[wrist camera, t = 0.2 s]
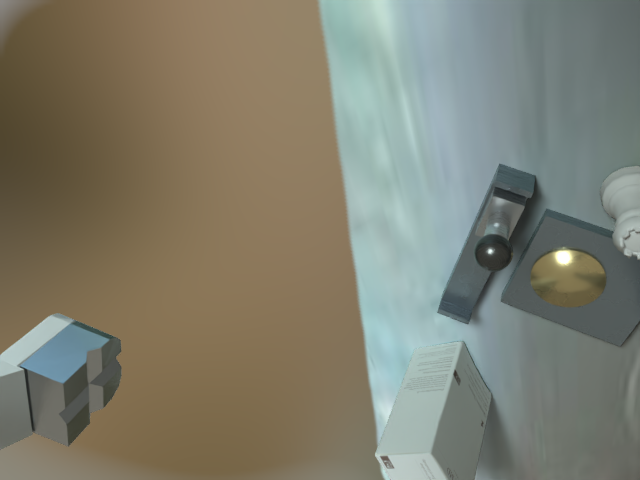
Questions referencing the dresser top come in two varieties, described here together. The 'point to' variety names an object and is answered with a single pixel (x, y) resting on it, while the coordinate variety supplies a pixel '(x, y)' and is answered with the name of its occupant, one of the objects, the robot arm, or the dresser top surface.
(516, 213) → the lever
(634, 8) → the dresser top surface
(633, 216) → the rook chess piece
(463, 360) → the skincare box
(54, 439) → the robot arm
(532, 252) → the press
